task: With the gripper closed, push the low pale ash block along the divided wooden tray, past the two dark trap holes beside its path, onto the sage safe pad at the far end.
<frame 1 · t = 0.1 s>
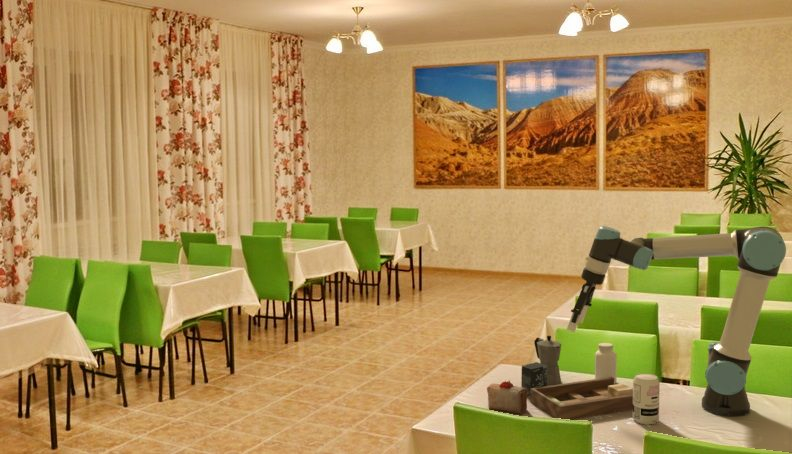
hand: (574, 326, 258), 28 cm above the table, tool tilted 20°, fingers open, 13 cm apart
supplement can: (645, 421, 243), on the table
block: (620, 398, 259), point 2 cm above the table, touching divided wooden tray
pill bottle: (605, 383, 282), on the table
coffeepot: (547, 380, 286), on the table
food item: (506, 409, 256), on the table
box: (534, 393, 272), on the table
divided wooden tray: (589, 404, 259), on the table
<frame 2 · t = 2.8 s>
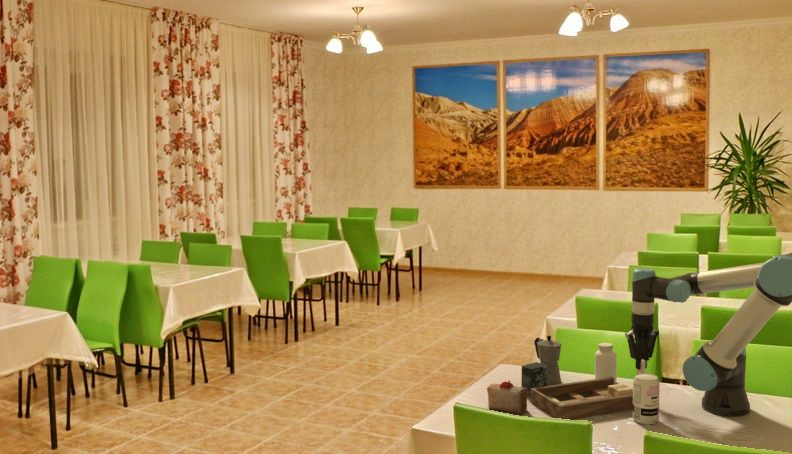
hand: (640, 377, 261), 8 cm above the table, tool pointing down, fingers closed
nothing on the table moved.
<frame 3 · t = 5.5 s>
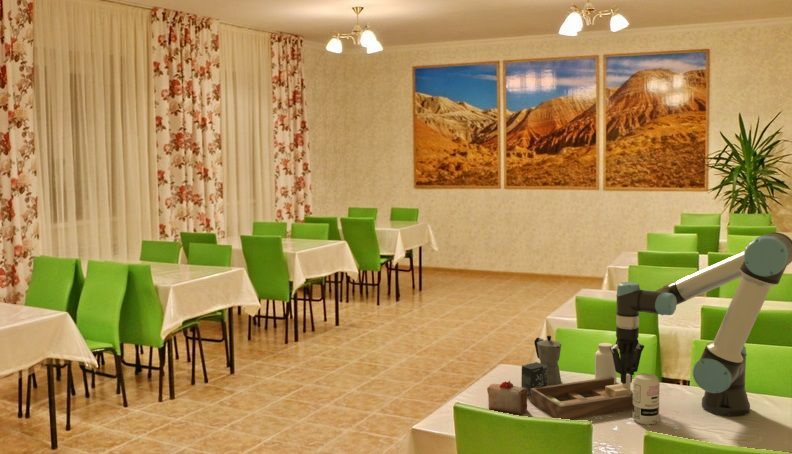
hand: (626, 391, 260), 4 cm above the table, tool pointing down, fingers closed
block: (617, 398, 259), point 2 cm above the table, touching gripper, divided wooden tray
everything else where it was.
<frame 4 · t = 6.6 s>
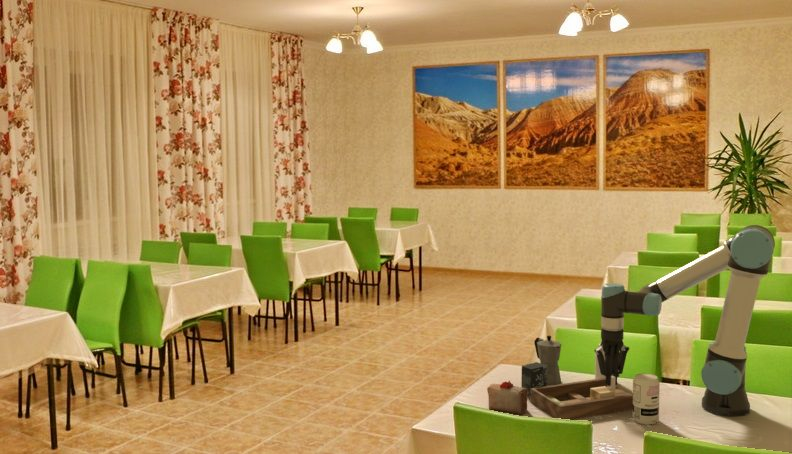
hand: (611, 394, 258), 4 cm above the table, tool pointing down, fingers closed
block: (602, 400, 257), point 2 cm above the table, touching gripper
everything else where it was.
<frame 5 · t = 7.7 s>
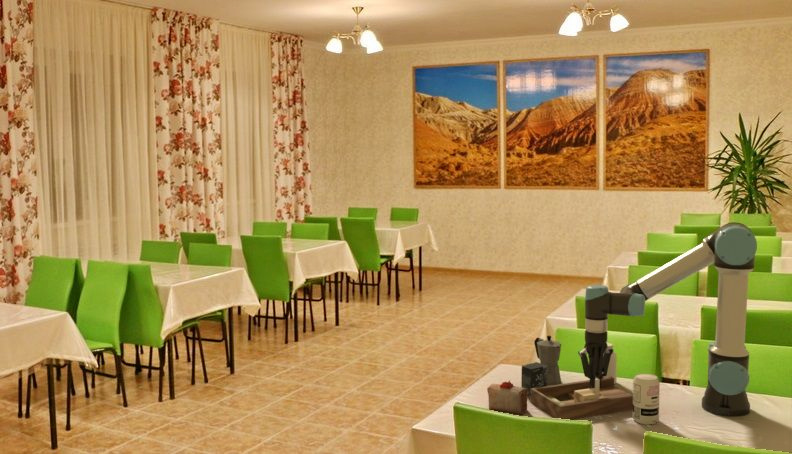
hand: (595, 396, 256), 4 cm above the table, tool pointing down, fingers closed
block: (586, 403, 254), point 2 cm above the table, touching gripper, divided wooden tray
everything else where it was.
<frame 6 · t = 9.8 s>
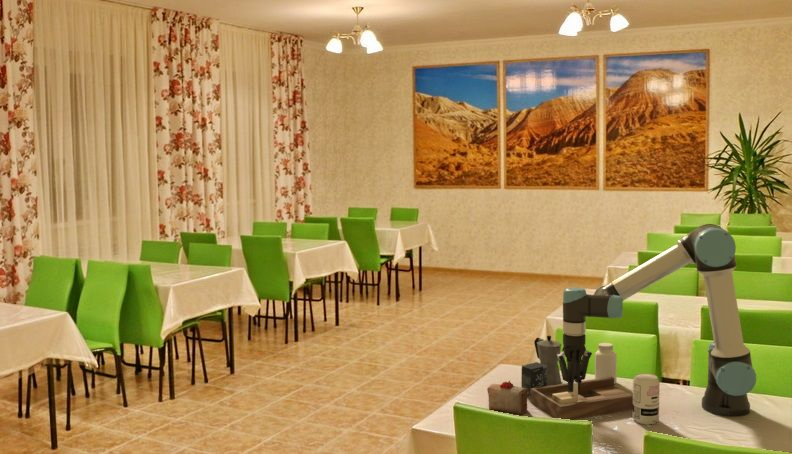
hand: (573, 400, 253), 4 cm above the table, tool pointing down, fingers closed
block: (564, 406, 252), point 2 cm above the table, touching divided wooden tray
everything else where it was.
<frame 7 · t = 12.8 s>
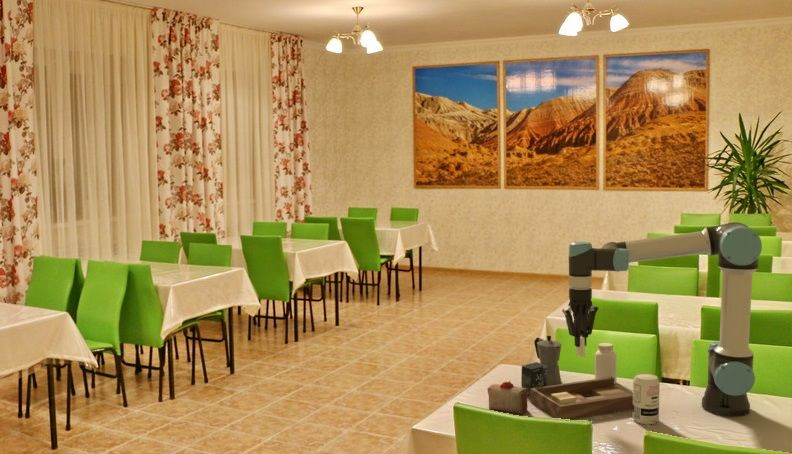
hand: (580, 355, 252), 19 cm above the table, tool pointing down, fingers closed
nothing on the table moved.
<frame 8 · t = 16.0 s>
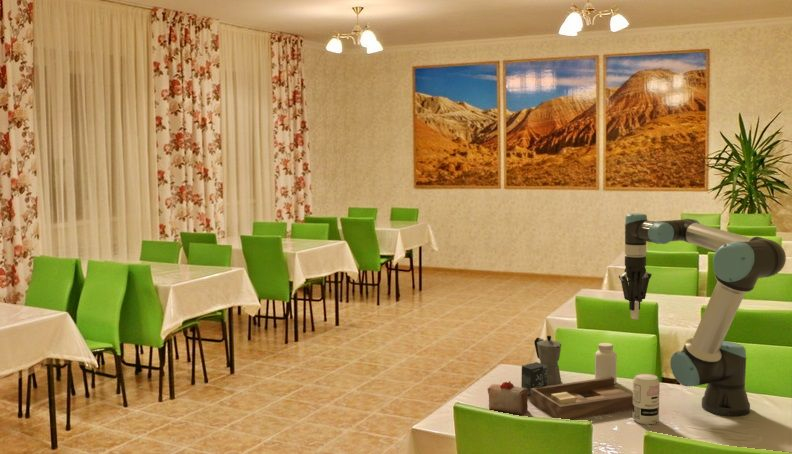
hand: (634, 318, 273), 26 cm above the table, tool pointing down, fingers closed
nothing on the table moved.
at the end: block 0.3 cm from the target spot on the divided wooden tray, point 2.0 cm above the divided wooden tray's base; block tilted 0° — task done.
